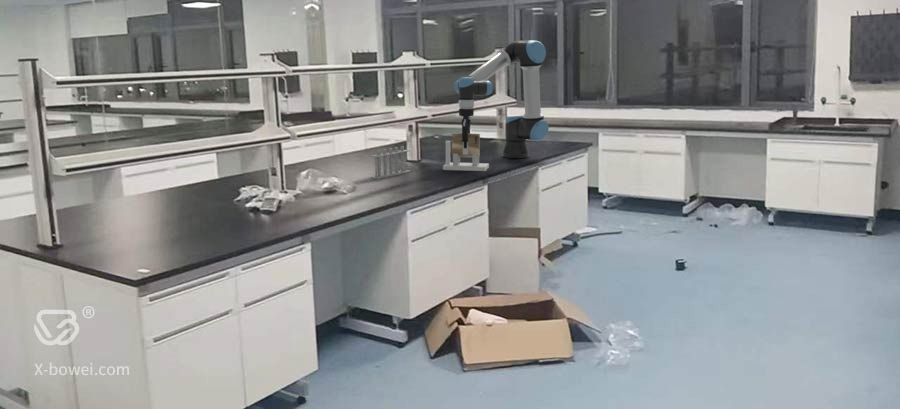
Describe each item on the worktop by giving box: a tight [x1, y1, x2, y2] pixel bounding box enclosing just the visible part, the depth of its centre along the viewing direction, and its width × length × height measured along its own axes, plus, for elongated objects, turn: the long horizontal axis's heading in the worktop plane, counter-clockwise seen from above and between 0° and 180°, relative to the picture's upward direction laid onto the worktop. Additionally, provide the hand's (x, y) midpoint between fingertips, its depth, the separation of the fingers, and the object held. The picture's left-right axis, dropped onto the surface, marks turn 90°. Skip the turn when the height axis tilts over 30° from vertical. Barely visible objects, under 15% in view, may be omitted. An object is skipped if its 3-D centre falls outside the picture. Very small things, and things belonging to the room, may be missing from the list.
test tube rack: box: [370, 145, 411, 180], centre depth 371 cm, size 25×4×13 cm, turn 144°
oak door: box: [451, 132, 481, 159], centre depth 388 cm, size 4×14×12 cm, turn 79°
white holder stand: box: [442, 140, 490, 172], centre depth 389 cm, size 12×22×14 cm, turn 79°
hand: (465, 153), depth 389 cm, fingers closed on oak door, 2 cm apart
